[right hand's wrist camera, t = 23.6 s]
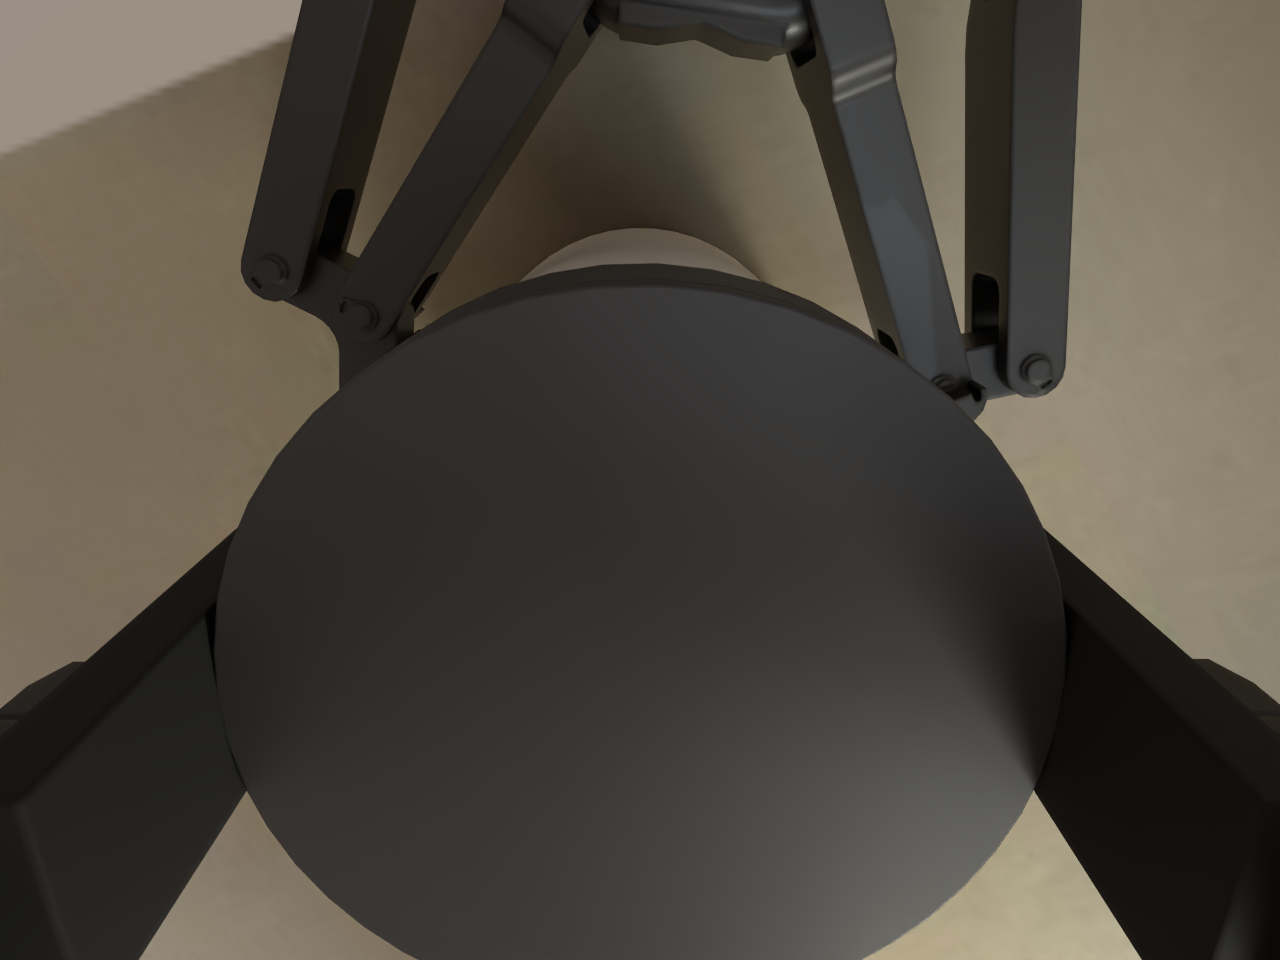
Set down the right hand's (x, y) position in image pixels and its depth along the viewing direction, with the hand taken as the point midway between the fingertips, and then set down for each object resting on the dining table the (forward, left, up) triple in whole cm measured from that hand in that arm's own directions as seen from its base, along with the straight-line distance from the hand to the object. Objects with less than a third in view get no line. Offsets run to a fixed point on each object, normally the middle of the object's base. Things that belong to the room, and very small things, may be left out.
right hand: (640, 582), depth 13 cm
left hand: (0, +4, -6) cm, 8 cm away
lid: (0, 0, +3) cm, 3 cm away
